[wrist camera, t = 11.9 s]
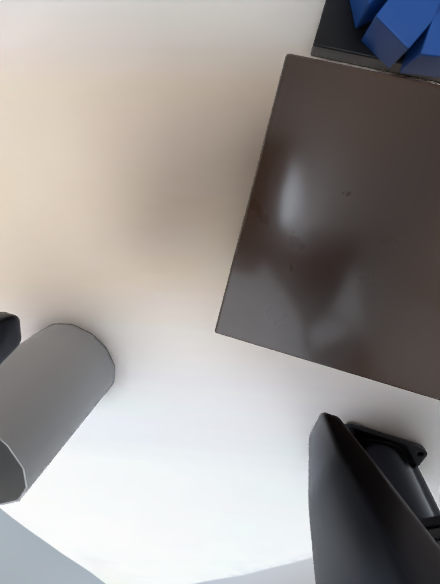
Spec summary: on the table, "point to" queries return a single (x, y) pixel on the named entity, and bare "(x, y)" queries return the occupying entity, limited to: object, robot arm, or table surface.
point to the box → (344, 227)
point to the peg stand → (349, 40)
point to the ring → (402, 32)
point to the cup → (46, 400)
